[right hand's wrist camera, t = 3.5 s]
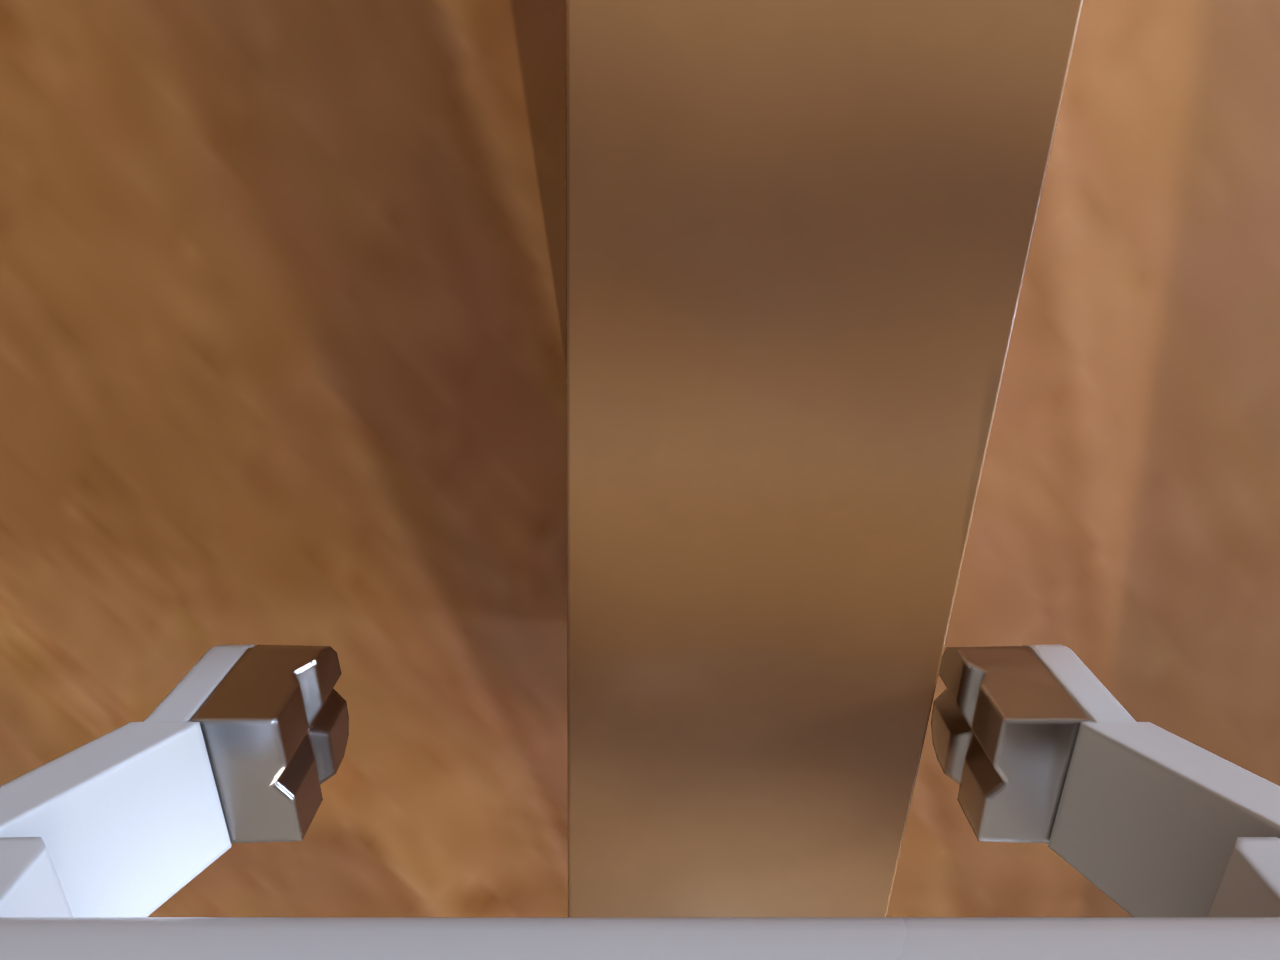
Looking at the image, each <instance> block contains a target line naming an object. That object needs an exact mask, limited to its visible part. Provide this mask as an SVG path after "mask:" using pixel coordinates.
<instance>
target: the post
mask: <svg viewBox="0 0 1280 960" xmlns="http://www.w3.org/2000/svg"><path fill="white" fill-rule="evenodd" d="M1082 4H1083V0H566V354H567V709H568V918H585V917H886V915H887V911H888V906H889V901H890V897H891V892H892V888H893V883H894V878H895V874H896V869H897V864H898V860H899V855H900V850H901V846H902V841H903V836H904V832H905V827H906V822H907V818H908V813H909V808H910V804H911V799H912V795H913V790H914V785H915V781H916V776H917V771H918V767H919V762H920V757H921V753H922V748H923V743H924V739H925V734H926V729H927V725H928V720H929V715H930V711H931V706H932V701H933V697H934V692H935V688H936V683H937V678H938V674H939V669H940V664H941V660H942V655H943V650H944V646H945V641H946V636H947V632H948V627H949V622H950V618H951V613H952V608H953V604H954V599H955V595H956V590H957V585H958V581H959V576H960V571H961V567H962V562H963V557H964V553H965V548H966V543H967V539H968V534H969V529H970V525H971V520H972V515H973V511H974V506H975V502H976V497H977V492H978V488H979V483H980V478H981V474H982V469H983V464H984V460H985V455H986V450H987V446H988V441H989V436H990V432H991V427H992V422H993V418H994V413H995V409H996V404H997V399H998V395H999V390H1000V385H1001V381H1002V376H1003V371H1004V367H1005V362H1006V357H1007V353H1008V348H1009V343H1010V339H1011V334H1012V329H1013V325H1014V320H1015V315H1016V311H1017V306H1018V302H1019V297H1020V292H1021V288H1022V283H1023V278H1024V274H1025V269H1026V264H1027V260H1028V255H1029V250H1030V246H1031V241H1032V236H1033V232H1034V227H1035V222H1036V218H1037V213H1038V209H1039V204H1040V199H1041V195H1042V190H1043V185H1044V181H1045V176H1046V171H1047V167H1048V162H1049V157H1050V153H1051V148H1052V143H1053V139H1054V134H1055V129H1056V125H1057V120H1058V116H1059V111H1060V106H1061V102H1062V97H1063V92H1064V88H1065V83H1066V78H1067V74H1068V69H1069V64H1070V60H1071V55H1072V50H1073V46H1074V41H1075V36H1076V32H1077V27H1078V23H1079V18H1080V13H1081V9H1082Z"/></svg>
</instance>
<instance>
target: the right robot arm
mask: <svg viewBox="0 0 1280 960" xmlns="http://www.w3.org/2000/svg"><path fill="white" fill-rule="evenodd" d="M340 675H341V670H340V665H339V660H338V655H337V652H336V651H335V650H334V649H332V648H331V647H330V646H290V645H256V646H255V645H218V646H215V647H211V648H210V649H209V650H208V651H207V652H206V653H205V654H204V656H203V657H202V658H201V659H200V660H199V661H198V662H197V663H196V664H195V665H194V667H193V668H192V669H191V670H190V671H189V672H188V673H187V674H186V675H185V677H184V678H183V679H182V680H181V681H180V682H179V683H178V684H177V685H176V686H175V688H174V689H173V690H172V691H171V692H170V693H169V694H168V695H167V696H166V698H165V699H164V700H163V701H162V702H161V703H160V704H159V705H158V706H157V707H156V709H155V710H154V711H153V712H152V713H151V714H150V715H149V716H148V717H147V719H146V720H145V721H144V722H130V723H128V724H126V725H124V726H122V727H120V728H118V729H116V730H114V731H112V732H110V733H108V734H105V735H103V736H101V737H99V738H97V739H95V740H93V741H91V742H89V743H87V744H85V745H83V746H81V747H79V748H77V749H75V750H73V751H71V752H69V753H67V754H65V755H63V756H61V757H59V758H57V759H55V760H52V761H50V762H48V763H46V764H44V765H42V766H40V767H38V768H36V769H34V770H32V771H30V772H28V773H26V774H24V775H22V776H20V777H18V778H16V779H14V780H12V781H10V782H8V783H6V784H4V785H2V786H0V960H1280V786H1278V785H1276V784H1274V783H1272V782H1270V781H1268V780H1266V779H1264V778H1262V777H1260V776H1258V775H1256V774H1254V773H1252V772H1250V771H1248V770H1246V769H1244V768H1241V767H1239V766H1237V765H1235V764H1233V763H1231V762H1229V761H1227V760H1225V759H1223V758H1221V757H1219V756H1217V755H1215V754H1213V753H1211V752H1209V751H1207V750H1205V749H1203V748H1201V747H1199V746H1197V745H1195V744H1193V743H1191V742H1189V741H1187V740H1185V739H1183V738H1181V737H1179V736H1176V735H1174V734H1172V733H1170V732H1168V731H1166V730H1164V729H1162V728H1160V727H1158V726H1156V725H1154V724H1152V723H1150V722H1136V721H1135V720H1134V719H1133V717H1132V716H1131V715H1130V714H1129V713H1128V712H1127V711H1126V710H1125V709H1124V707H1123V706H1122V705H1121V704H1120V703H1119V702H1118V701H1117V700H1116V699H1115V698H1114V696H1113V695H1112V694H1111V693H1110V692H1109V691H1108V690H1107V689H1106V688H1105V686H1104V685H1103V684H1102V683H1101V682H1100V681H1099V680H1098V679H1097V678H1096V677H1095V675H1094V674H1093V673H1092V672H1091V671H1090V670H1089V669H1088V668H1087V667H1086V665H1085V664H1084V663H1083V662H1082V661H1081V660H1080V659H1079V658H1078V657H1077V655H1076V654H1075V653H1074V652H1073V651H1072V650H1071V649H1070V648H1068V647H1066V646H1064V645H1061V644H1049V645H1023V646H998V647H947V648H946V650H945V652H944V654H943V656H942V660H941V664H940V669H939V675H940V677H941V679H942V680H943V682H944V684H945V686H946V687H947V689H946V690H945V691H944V692H943V693H942V694H941V695H940V696H939V697H938V698H937V699H936V700H935V701H934V704H933V711H932V719H931V729H932V741H933V746H934V750H935V753H936V757H937V760H938V762H939V764H940V766H941V768H942V770H943V772H944V774H946V775H947V776H949V777H950V778H951V779H953V780H954V781H956V782H957V783H959V784H960V788H959V793H958V799H957V800H958V802H959V804H960V806H961V808H962V810H963V812H964V814H965V816H966V818H967V820H968V822H969V823H970V825H971V827H972V829H973V831H974V833H975V835H976V837H977V839H978V841H994V842H1029V843H1049V845H1048V847H1050V848H1051V849H1052V850H1053V851H1054V852H1056V853H1057V854H1058V855H1059V856H1060V857H1062V858H1063V859H1064V860H1065V861H1066V862H1068V863H1069V864H1070V865H1071V866H1072V867H1074V868H1075V869H1076V870H1077V871H1078V872H1080V873H1081V874H1082V875H1083V876H1084V877H1086V878H1087V879H1088V880H1089V881H1091V882H1092V883H1093V884H1094V885H1095V886H1097V887H1098V888H1099V889H1100V890H1101V891H1103V892H1104V893H1105V894H1106V895H1107V896H1109V897H1110V898H1111V899H1112V900H1113V901H1115V902H1116V903H1117V904H1118V905H1119V906H1121V907H1122V908H1123V909H1124V910H1125V911H1127V912H1128V913H1129V914H1130V915H1131V916H1133V917H585V918H455V917H148V916H149V915H150V914H151V913H152V912H154V911H155V910H156V909H157V908H158V907H160V906H161V905H162V904H163V903H164V902H166V901H167V900H168V899H169V898H170V897H172V896H173V895H174V894H175V893H177V892H178V891H179V890H180V889H181V888H183V887H184V886H185V885H186V884H187V883H189V882H190V881H191V880H192V879H193V878H195V877H196V876H197V875H198V874H199V873H201V872H202V871H203V870H204V869H205V868H207V867H208V866H209V865H210V864H211V863H213V862H214V861H215V860H216V859H217V858H219V857H220V856H221V855H222V854H224V853H225V852H226V851H227V850H228V849H230V848H231V846H232V845H231V843H250V842H285V841H302V839H303V837H304V835H305V833H306V831H307V829H308V827H309V825H310V824H311V822H312V820H313V818H314V816H315V814H316V812H317V810H318V808H319V806H320V804H321V802H322V800H323V799H322V793H321V788H320V784H321V783H323V782H324V781H326V780H327V779H329V778H330V777H331V776H333V775H334V774H336V772H337V770H338V768H339V766H340V764H341V761H342V759H343V757H344V753H345V749H346V744H347V739H348V735H349V716H348V710H347V703H346V701H345V700H344V699H343V698H342V697H341V696H340V695H339V694H338V693H337V692H336V691H335V690H334V689H333V687H334V686H335V684H336V682H337V680H338V679H339V677H340Z"/></svg>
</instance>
